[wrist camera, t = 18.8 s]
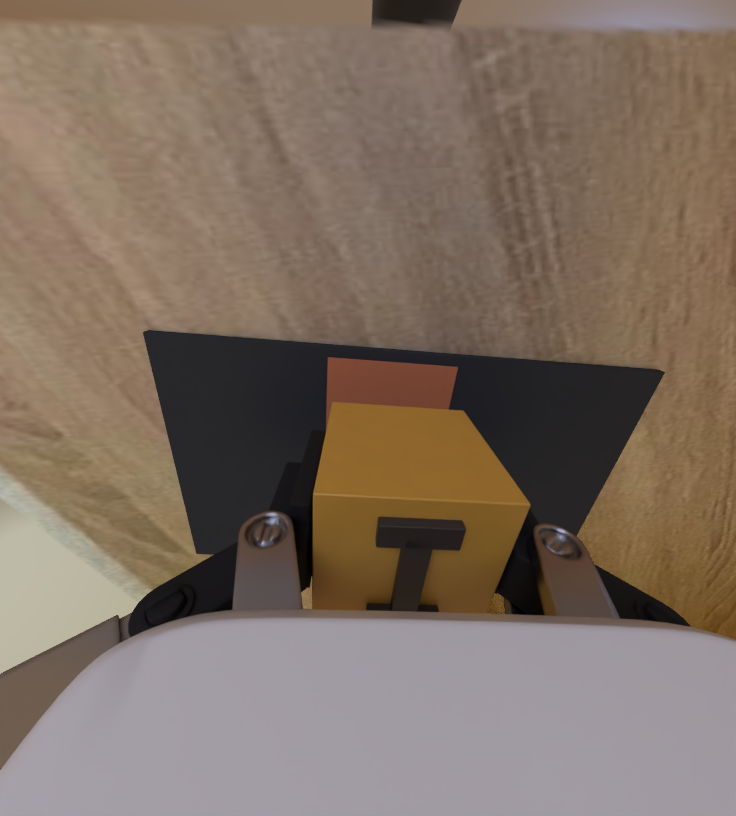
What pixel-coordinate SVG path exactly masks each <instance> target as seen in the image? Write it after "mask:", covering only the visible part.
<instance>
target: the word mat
mask: <svg viewBox="0 0 736 816" xmlns="http://www.w3.org/2000/svg"><path fill="white" fill-rule="evenodd" d="M143 334H144V339H145V343H146V347H147V351H148V355H149V359H150V363H151V367H152V372H153V376H154V380H155V384H156V388H157V392H158V396H159V401H160V405H161V409H162V413H163V417H164V421H165V425H166V430H167V434H168V438H169V442H170V446H171V450H172V454H173V458H174V463H175V467H176V471H177V475H178V479H179V483H180V487H181V492H182V496H183V500H184V504H185V508H186V512H187V516H188V521H189V525H190V529H191V533H192V537H193V541H194V545H195V549H196V553H197V554H217V553H218V552H220V551H222V550H224V549H225V548H227V547H229V546H231V545H232V544H234V543H236V542H238V537H239V532H240V528H241V527H242V525H243V524H244V522H245V521H246V520H248V519H249V518H250V517H251V516H253V515H255V514H257V513H260V512H264V511H269V508H270V506H271V503H272V500H273V498H274V495H275V492H276V490H277V487H278V484H279V482H280V479H281V476H282V474H283V471H284V468H285V466H286V464H287V462H296V463H302V460H303V456H304V453H305V450H306V446H307V443H308V440H309V436H310V433H311V430H321V431H326V429H327V425H328V420H329V415H330V410H331V406H332V402H343V403H358V404H373V405H388V406H403V407H418V408H433V409H448V410H463V411H464V412H465V413H466V415H467V416H468V418H469V419H470V420H471V422H472V423H473V425H474V426H475V427H476V429H477V430H478V432H479V433H480V434H481V436H482V437H483V438H484V440H485V441H486V443H487V444H488V445H489V447H490V448H491V450H492V451H493V452H494V454H495V455H496V457H497V458H498V459H499V461H500V462H501V464H502V465H503V466H504V468H505V469H506V471H507V472H508V473H509V475H510V476H511V478H512V479H513V480H514V482H515V483H516V485H517V486H518V487H519V489H520V490H521V491H522V493H523V494H524V496H525V497H526V498H527V500H528V501H529V503H530V509H531V511H532V512H533V514H534V516H535V518H536V519H537V521H538V522H539V523H540V524H541V523H549V524H554V525H557V526H560V527H562V528H564V529H566V530H568V531H570V532H571V533H572V534H574V535H575V536H577V534H578V532H579V530H580V528H581V526H582V524H583V523H584V521H585V519H586V517H587V515H588V513H589V512H590V510H591V508H592V506H593V504H594V502H595V500H596V499H597V497H598V495H599V493H600V491H601V489H602V488H603V486H604V484H605V482H606V480H607V478H608V476H609V475H610V473H611V471H612V469H613V467H614V465H615V464H616V462H617V460H618V458H619V456H620V454H621V452H622V451H623V449H624V447H625V445H626V443H627V441H628V440H629V438H630V436H631V434H632V432H633V430H634V428H635V427H636V425H637V423H638V421H639V419H640V417H641V416H642V414H643V412H644V410H645V408H646V406H647V404H648V403H649V401H650V399H651V397H652V395H653V393H654V392H655V390H656V388H657V386H658V384H659V382H660V380H661V379H662V377H663V375H664V373H665V372H663V371H660V370H655V369H642V368H629V367H616V366H603V365H590V364H577V363H564V362H551V361H538V360H526V359H513V358H500V357H487V356H474V355H461V354H448V353H435V352H422V351H409V350H396V349H383V348H370V347H357V346H345V345H332V344H319V343H306V342H293V341H280V340H267V339H254V338H241V337H228V336H215V335H202V334H189V333H177V332H164V331H151V330H148V331H145V332H143Z"/></svg>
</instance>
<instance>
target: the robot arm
mask: <svg viewBox="0 0 736 816" xmlns="http://www.w3.org/2000/svg"><path fill="white" fill-rule="evenodd" d="M325 434H326V431H321V430H311V433H310V436H309V440H308V443H307V446H306V450H305V453H304V456H303V460H302V463H296V462H287V464H286V466H285V468H284V471H283V474H282V476H281V479H280V482H279V484H278V487H277V490H276V492H275V495H274V498H273V500H272V503H271V506H270V508H269V511H264V512H260V513H257V514H255V515H253V516H251V517H250V518H249V519H248V520H246V521H245V522H244V524H243V525H242V527H241V528H240V532H239V537H238V542H236V543H234V544H232V545H231V546H229V547H227V548H225V549H224V550H222V551H220V552H218V553H217V554H215V555H213V556H211V557H210V558H208V559H206V560H204V561H203V562H201V563H199V564H197V565H196V566H194V567H192V568H190V569H188V570H187V571H185V572H183V573H181V574H180V575H178V576H176V577H174V578H173V579H171V580H169V581H167V582H166V583H164V584H162V585H160V586H159V587H157V588H156V589H154V590H153V591H151V592H150V593H148V594H147V595H146V596H145V597H144V598H143V599H142V600H141V601H140V602H139V603H138V604H137V606H136V607H135V609H134V610H133V612H132V613H130V614H128V615H127V616H124V617H123V618H121V619H119V616H118V615H116V616H114V617H112V618H110V619H108V620H106V621H104V622H102V623H100V624H98V625H96V626H94V627H92V628H90V629H88V630H86V631H84V632H83V633H80V634H78V635H76V636H74V637H72V638H70V639H68V640H66V641H64V642H62V643H60V644H58V645H56V646H54V647H52V648H50V649H49V650H47V651H44V652H42V653H40V654H39V655H36V656H35V657H33V658H30V659H29V660H27V661H25V662H23V663H21V664H19V665H17V666H15V667H13V668H11V669H9V670H7V671H5V672H3V673H1V674H0V816H736V640H734V639H732V638H729V637H726V636H723V635H720V634H716V633H712V632H709V631H705V630H701V629H698V628H694V627H691V626H690V625H689V624H688V623H687V622H686V621H685V620H684V619H683V618H682V617H681V616H680V615H679V614H678V613H676V612H675V611H674V610H673V609H671V608H669V607H668V606H666V605H665V604H663V603H662V602H660V601H658V600H656V599H655V598H653V597H651V596H649V595H648V594H646V593H644V592H642V591H641V590H639V589H637V588H635V587H633V586H632V585H630V584H628V583H626V582H625V581H623V580H621V579H619V578H617V577H616V576H614V575H612V574H610V573H609V572H607V571H605V570H603V569H602V568H600V567H598V566H596V565H594V563H593V561H592V559H591V557H590V555H589V552H588V550H587V548H586V547H585V545H584V544H583V542H582V541H581V540H580V539H579V538H578V537H577V536H575V535H574V534H572V533H571V532H570V531H568V530H566V529H564V528H562V527H560V526H557V525H554V524H549V523H541V524H540V523H539V522H538V521H537V519H536V518H535V516H534V514H533V512H532V511H531V509H530V508H529V511H528V513H527V516H526V518H525V520H524V523H523V525H522V528H521V530H520V533H519V535H518V537H517V540H516V542H515V545H514V547H513V549H512V552H511V554H510V557H509V559H508V562H507V564H506V566H505V569H504V571H503V574H502V576H501V578H500V581H499V583H498V586H497V588H496V591H495V593H498V594H500V595H501V596H503V597H504V609H505V614H484V613H449V612H412V611H369V610H324V609H303V607H302V598H301V592H302V591H303V590H305V589H306V587H310V582H311V576H312V562H313V491H314V487H315V482H316V477H317V472H318V467H319V463H320V458H321V453H322V448H323V444H324V439H325Z"/></svg>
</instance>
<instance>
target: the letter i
mask: <svg viewBox="0 0 736 816" xmlns="http://www.w3.org/2000/svg"><path fill="white" fill-rule="evenodd" d="M529 508H530V503H529V501H528V500H527V498H526V497H525V496H524V494H523V493H522V491H521V490H520V489H519V487H518V486H517V485H516V483H515V482H514V480H513V479H512V478H511V476H510V475H509V473H508V472H507V471H506V469H505V468H504V466H503V465H502V464H501V462H500V461H499V459H498V458H497V457H496V455H495V454H494V452H493V451H492V450H491V448H490V447H489V445H488V444H487V443H486V441H485V440H484V438H483V437H482V436H481V434H480V433H479V432H478V430H477V429H476V427H475V426H474V425H473V423H472V422H471V420H470V419H469V418H468V416H467V415H466V413H465V412H464V411H463V410H448V409H433V408H418V407H403V406H388V405H373V404H358V403H343V402H332V406H331V410H330V415H329V420H328V425H327V429H326V434H325V439H324V444H323V448H322V453H321V458H320V463H319V467H318V472H317V477H316V482H315V487H314V491H313V562H312V609H324V610H369V611H412V612H449V613H484V614H486V612H487V610H488V607H489V605H490V603H491V600H492V598H493V595H494V593H495V591H496V588H497V586H498V583H499V581H500V578H501V576H502V574H503V571H504V569H505V566H506V564H507V562H508V559H509V557H510V554H511V552H512V549H513V547H514V545H515V542H516V540H517V537H518V535H519V533H520V530H521V528H522V525H523V523H524V520H525V518H526V516H527V513H528V511H529Z"/></svg>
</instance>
